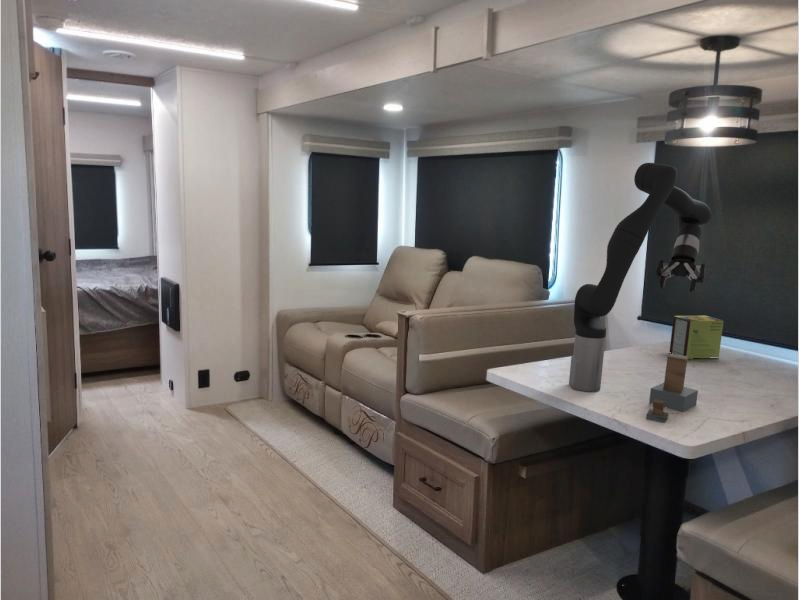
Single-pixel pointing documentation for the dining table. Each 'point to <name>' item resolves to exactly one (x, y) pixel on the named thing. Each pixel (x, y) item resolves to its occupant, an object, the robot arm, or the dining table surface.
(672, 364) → the walnut block
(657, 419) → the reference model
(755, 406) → the dining table surface
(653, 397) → the slate base block
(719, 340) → the protein box
